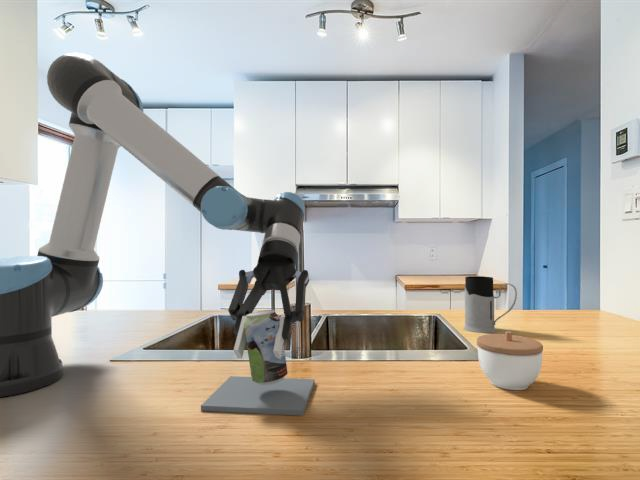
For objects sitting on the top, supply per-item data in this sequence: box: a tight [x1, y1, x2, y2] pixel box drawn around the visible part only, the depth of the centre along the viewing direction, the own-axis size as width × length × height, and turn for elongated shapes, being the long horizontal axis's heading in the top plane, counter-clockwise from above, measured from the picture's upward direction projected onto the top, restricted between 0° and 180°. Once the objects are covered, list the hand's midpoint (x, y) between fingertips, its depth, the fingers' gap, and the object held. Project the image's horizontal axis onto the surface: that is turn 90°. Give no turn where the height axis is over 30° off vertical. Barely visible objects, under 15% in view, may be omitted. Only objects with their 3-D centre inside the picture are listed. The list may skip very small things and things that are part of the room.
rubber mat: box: [200, 375, 316, 417], centre depth 66 cm, size 16×13×1 cm
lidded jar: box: [476, 331, 544, 391], centre depth 70 cm, size 11×11×9 cm
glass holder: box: [463, 275, 518, 334], centre depth 111 cm, size 9×14×15 cm, turn 54°
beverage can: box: [244, 309, 288, 385], centre depth 65 cm, size 6×7×12 cm
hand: (257, 354), depth 63 cm, fingers closed on beverage can, 6 cm apart
